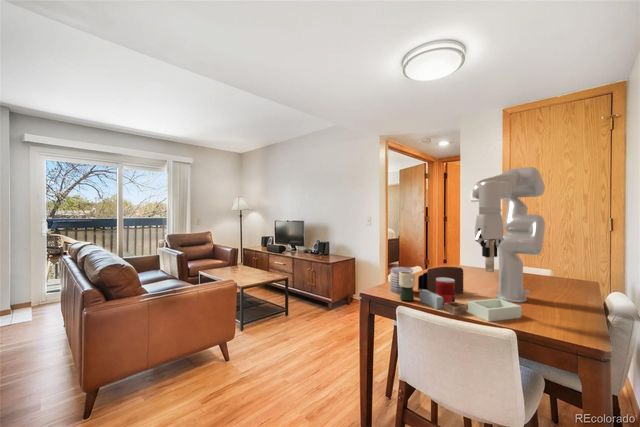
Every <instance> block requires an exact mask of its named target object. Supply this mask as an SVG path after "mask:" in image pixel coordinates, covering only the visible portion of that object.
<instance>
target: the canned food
mask: <svg viewBox="0 0 640 427" xmlns="http://www.w3.org/2000/svg"><path fill="white" fill-rule="evenodd" d="M436 294H437V295H439V296H441V297H443V306H444V303H450V302H456V294H455V280H454V279H451V278H445V277H438V278H436Z"/></svg>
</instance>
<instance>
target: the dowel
mask: <svg viewBox="0 0 640 427" xmlns="http://www.w3.org/2000/svg"><path fill="white" fill-rule="evenodd" d="M488 247H489V248H490V257H484V258H485V260H484V262H485V263H484V264H485V265H484V266H485V267H484V268H485V270H484V271H485V272H487V273H495V257H494V240H493V239H492V240H489V246H488Z"/></svg>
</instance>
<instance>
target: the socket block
mask: <svg viewBox="0 0 640 427" xmlns="http://www.w3.org/2000/svg"><path fill="white" fill-rule="evenodd" d="M443 311H444V312H447V313H449V314H450V315H453V316H459V315H460V316H461V315H467V314H468V305H467V306H466V305H465V304H462V303H460V302H457V301H455V302H450V303H444V305H443Z"/></svg>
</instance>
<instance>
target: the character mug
mask: <svg viewBox="0 0 640 427" xmlns="http://www.w3.org/2000/svg"><path fill="white" fill-rule="evenodd" d="M415 280H416V273H415V272H414V271H413V272H409V271H401V272H399V285H400V286H402V288H401V294H399V298H400V300H401V301H408V302H410V301H413V302H414V300H415V296H414V287H416V283H415ZM412 287H413V289H412Z"/></svg>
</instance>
